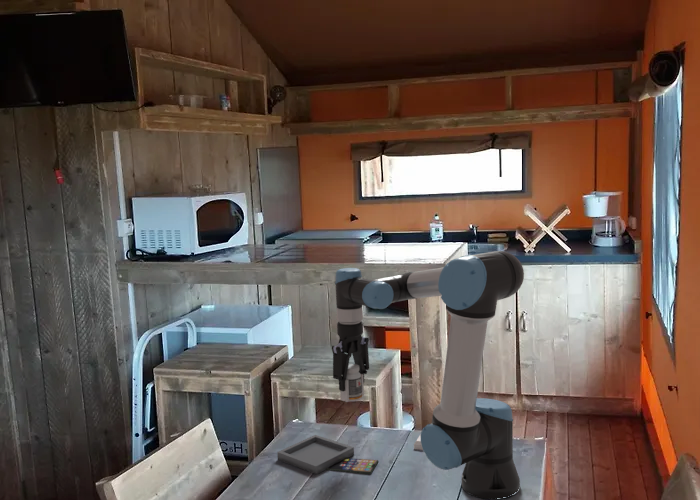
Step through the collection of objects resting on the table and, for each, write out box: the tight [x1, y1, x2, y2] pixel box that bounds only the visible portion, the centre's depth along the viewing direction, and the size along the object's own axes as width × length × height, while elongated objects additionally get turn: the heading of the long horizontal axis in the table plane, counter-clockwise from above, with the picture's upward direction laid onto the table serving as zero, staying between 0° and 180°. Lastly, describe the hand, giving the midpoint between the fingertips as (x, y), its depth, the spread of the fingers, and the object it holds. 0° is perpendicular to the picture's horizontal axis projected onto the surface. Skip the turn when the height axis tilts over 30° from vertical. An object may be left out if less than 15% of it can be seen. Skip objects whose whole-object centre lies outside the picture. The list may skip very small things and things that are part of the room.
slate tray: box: [276, 434, 355, 475], centre depth 206 cm, size 16×16×2 cm
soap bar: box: [413, 433, 423, 451], centre depth 212 cm, size 5×9×3 cm, turn 160°
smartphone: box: [325, 457, 379, 475], centre depth 199 cm, size 8×15×1 cm, turn 72°
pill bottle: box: [342, 363, 363, 402], centre depth 204 cm, size 6×6×10 cm
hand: (352, 397), depth 205 cm, fingers closed on pill bottle, 6 cm apart
